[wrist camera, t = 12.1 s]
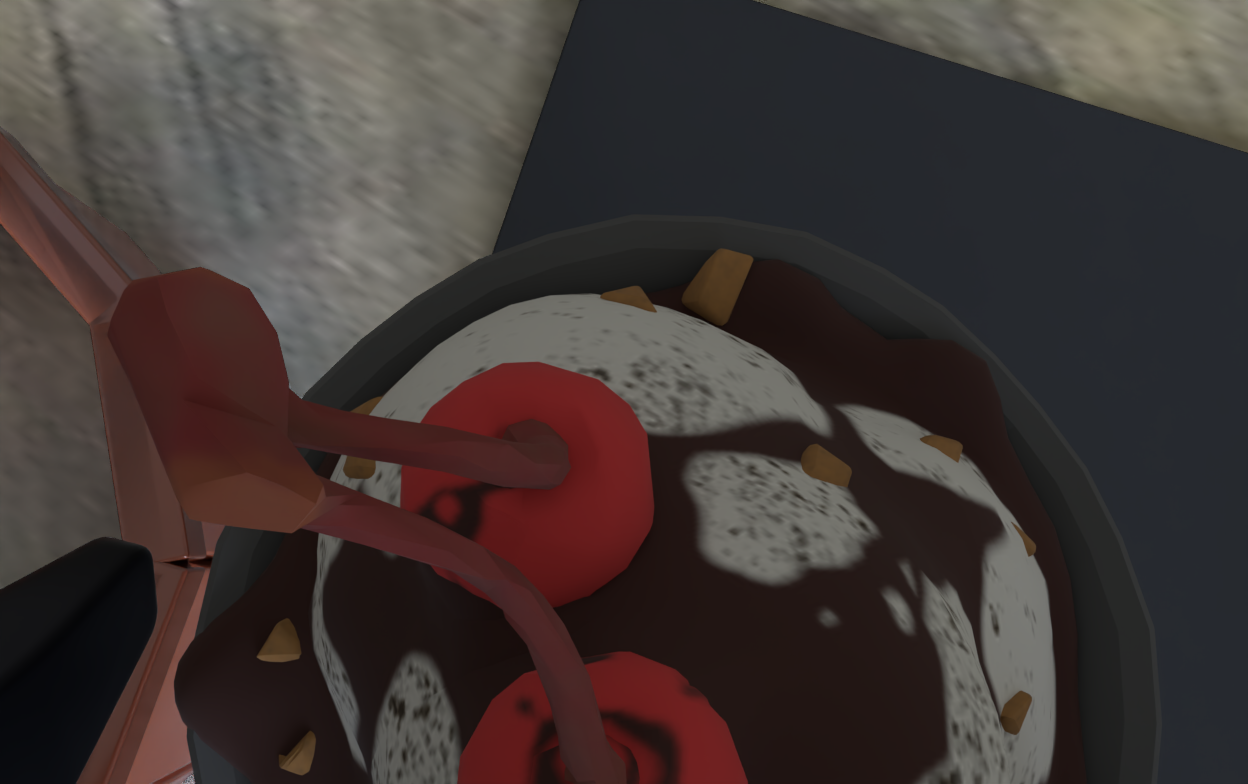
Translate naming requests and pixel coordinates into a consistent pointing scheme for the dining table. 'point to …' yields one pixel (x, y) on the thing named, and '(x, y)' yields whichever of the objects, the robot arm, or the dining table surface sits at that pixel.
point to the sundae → (640, 531)
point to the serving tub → (120, 466)
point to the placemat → (968, 264)
